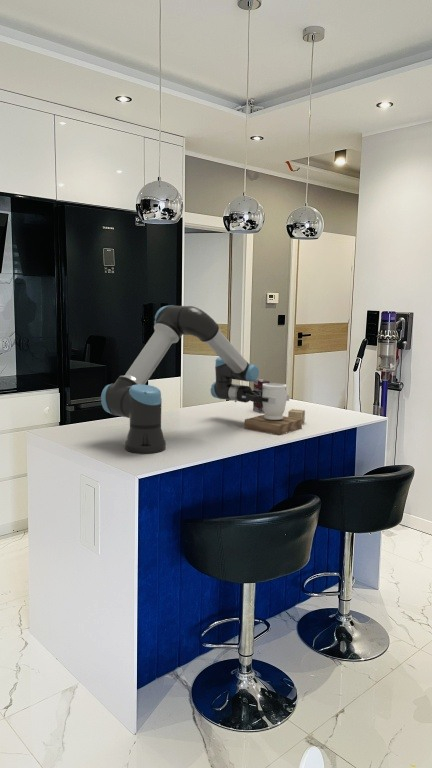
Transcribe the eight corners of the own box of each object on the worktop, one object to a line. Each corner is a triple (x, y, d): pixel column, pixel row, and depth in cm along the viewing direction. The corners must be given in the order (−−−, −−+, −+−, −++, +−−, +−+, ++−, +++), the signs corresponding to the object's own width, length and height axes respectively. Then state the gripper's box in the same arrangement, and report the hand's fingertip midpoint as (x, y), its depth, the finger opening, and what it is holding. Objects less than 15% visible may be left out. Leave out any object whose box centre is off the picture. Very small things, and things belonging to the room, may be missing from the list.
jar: (266, 421, 257) (267, 386, 255) (258, 416, 267) (259, 382, 265) (289, 420, 260) (290, 385, 258) (280, 415, 270) (281, 382, 267)
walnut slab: (279, 435, 251) (279, 425, 251) (244, 428, 262) (244, 419, 262) (301, 428, 265) (301, 419, 265) (267, 422, 276) (267, 413, 276)
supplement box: (252, 410, 304) (253, 379, 302) (260, 409, 306) (261, 378, 304) (260, 413, 297) (261, 381, 294) (269, 412, 299) (270, 381, 296)
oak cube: (300, 425, 271) (301, 412, 270) (288, 424, 273) (288, 411, 272) (304, 423, 276) (304, 410, 276) (291, 421, 279) (292, 409, 278)
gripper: (255, 398, 282) (295, 404, 268) (225, 404, 265) (267, 411, 251) (255, 382, 281) (296, 387, 267) (225, 387, 264) (267, 393, 250)
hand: (282, 399), depth 259 cm, fingers closed on jar, 10 cm apart
